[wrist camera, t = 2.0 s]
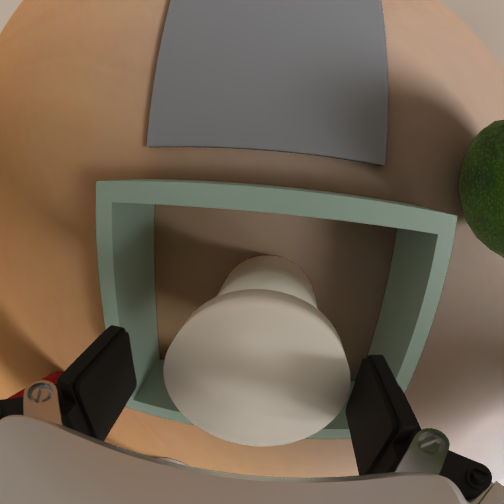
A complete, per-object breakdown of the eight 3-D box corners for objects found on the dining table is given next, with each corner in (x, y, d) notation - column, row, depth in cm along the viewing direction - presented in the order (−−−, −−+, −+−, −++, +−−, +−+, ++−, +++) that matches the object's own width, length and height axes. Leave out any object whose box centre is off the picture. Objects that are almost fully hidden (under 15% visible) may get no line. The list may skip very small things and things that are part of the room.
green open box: (414, 204, 15) (457, 215, 11) (367, 390, 19) (382, 436, 14) (141, 178, 17) (96, 181, 12) (149, 365, 20) (122, 406, 16)
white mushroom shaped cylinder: (331, 251, 17) (372, 317, 8) (313, 351, 19) (326, 450, 10) (214, 239, 17) (157, 293, 9) (211, 339, 19) (171, 431, 11)
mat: (379, 4, 12) (381, 0, 12) (382, 165, 15) (385, 165, 15) (175, -6, 13) (173, -10, 13) (150, 147, 16) (146, 146, 16)
